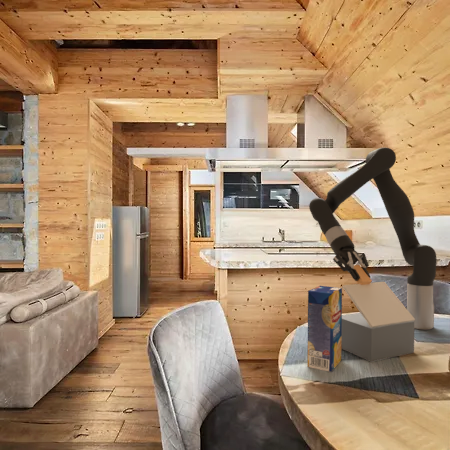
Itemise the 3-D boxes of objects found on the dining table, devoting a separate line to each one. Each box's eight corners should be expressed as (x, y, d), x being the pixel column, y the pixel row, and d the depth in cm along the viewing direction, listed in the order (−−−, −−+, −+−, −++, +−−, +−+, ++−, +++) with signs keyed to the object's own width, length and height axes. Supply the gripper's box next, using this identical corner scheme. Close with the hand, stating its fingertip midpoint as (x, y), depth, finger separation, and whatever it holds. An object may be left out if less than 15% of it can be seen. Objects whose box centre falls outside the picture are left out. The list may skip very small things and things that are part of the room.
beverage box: (341, 359, 110) (342, 287, 110) (330, 372, 101) (331, 293, 101) (319, 355, 114) (320, 285, 114) (307, 366, 105) (308, 291, 104)
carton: (374, 338, 131) (374, 310, 131) (414, 352, 117) (414, 321, 117) (333, 345, 123) (334, 316, 123) (371, 361, 109) (371, 328, 109)
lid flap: (371, 268, 133) (374, 264, 131) (413, 320, 117) (418, 316, 116) (331, 271, 124) (334, 266, 123) (370, 327, 109) (375, 323, 107)
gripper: (329, 234, 129) (353, 273, 118) (359, 234, 135) (384, 271, 124) (319, 247, 134) (341, 286, 123) (348, 247, 140) (371, 284, 129)
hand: (363, 278), depth 124 cm, fingers closed on lid flap, 4 cm apart
